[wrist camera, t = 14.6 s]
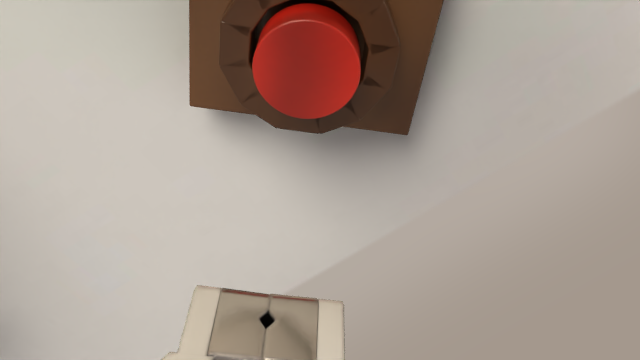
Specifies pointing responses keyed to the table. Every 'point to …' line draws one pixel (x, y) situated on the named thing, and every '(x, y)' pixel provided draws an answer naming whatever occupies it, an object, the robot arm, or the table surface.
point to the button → (307, 61)
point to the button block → (375, 57)
